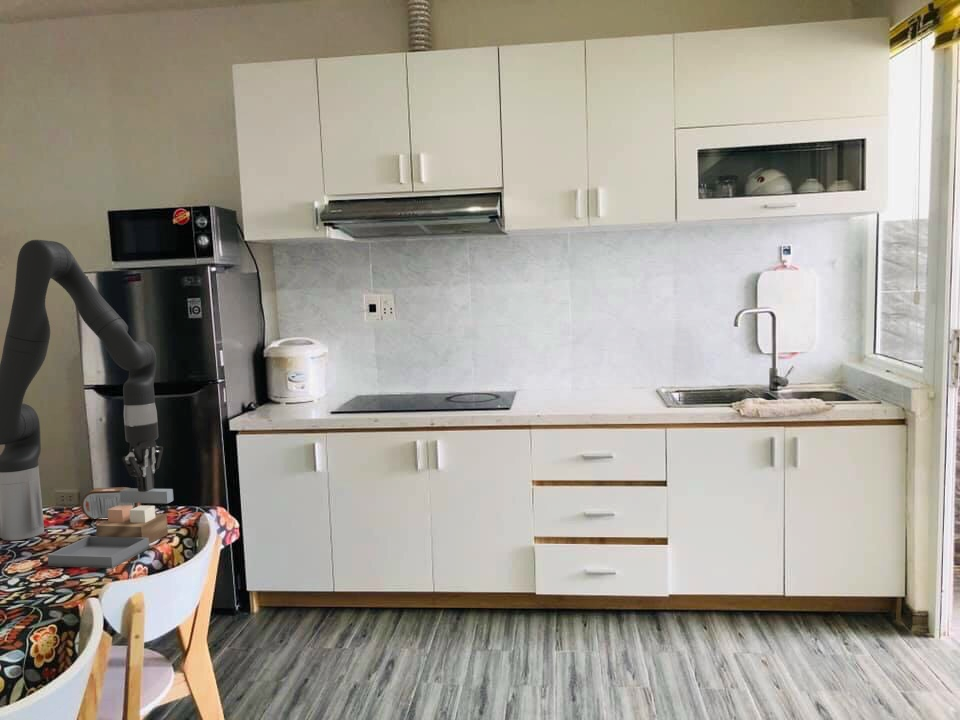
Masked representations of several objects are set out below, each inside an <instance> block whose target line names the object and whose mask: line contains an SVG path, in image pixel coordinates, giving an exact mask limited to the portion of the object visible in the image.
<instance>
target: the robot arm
mask: <svg viewBox="0 0 960 720" xmlns="http://www.w3.org/2000/svg"><path fill="white" fill-rule="evenodd" d="M15 271H16V272H15V273H16V274H15V282H14V283H15V284H14V294H13V299H12V303H11V304H12V305H11V310H10V316H9V320H8V325H7V328H6V333H5V338H4V342H3V346H2V347H3V348H2V352H1V353H2V354H1V359H0V446H2V445H4V448H3V450H2V452H1V454H0V539H2V540H4V541H19V540H25V539H31V538H34V537H37V536H40V535H42V534H44V533H45V526H44V525H45V523H44V513H43V512H44V511H43V501H42V489H41V479H40V468H39V458H40V456H41V450H42V448H41V426H40V419H39V415H38V413H37V411H36V410H35V408H34V407H32V406H31V405H29V404H26V403H23V402H24V398H25V394H26V392H27V390H28V389H29V387H30V384H31V383H32V381H33V379H34V378H35V376H36V375H37V374H38V372H39V371H40V369H41V368H42V366H43V364H44V363H45V360H46V358H47V352H48V349H49V344H50V339H51V326H50V321H49V317H48V313H47V308H46V299H47V297H46V296H47V294H48V293H47V292H48V287H49V285H50V282H51V281H50V280H51V279H52V281H54V282H56V283H57V284H59V286H60V287H62V289H63V290H65V291H66V293H67V294H68V295H69V296H70V298H71V299H72V301H73V302H74V305H75V308H76V309H77V312H78V313H79V316H80V317H81V319H82V320H83V322H84V323H85V325H87V327H89V329H90V331H92V332H93V333H94V334H95V335H96V336H97V338H99V340H101V341H102V343H103V345H104V348H105V349H106V351H107V352H108V353H109V356H110V358H111V359H112V360H113V362H114V363H115V364H116V365H118V367H120V368H121V369H123V370H124V371H126V372H127V371H128V378H127V380H126V381H125V382H124V383H123V387H122V394H123V423H124V424H123V425H124V436H125V441H126V443H129V448H128V449H129V450H128V452H129V453H128V454H127V455H126V456H123V457H121V459H122V462H123V465H124V467H125V469H126V470H127V473H128V474H129V476H130V477H135V478H136V486H137V487H136V488H138V491H139V492H145V491H147V476H146V467H147V466H148V459H150V460H151V461H150V462H151V471H152V487H153V489H155V478H154V477H155V476H154V474H155V472H156V470H159V469H160V465H161V460H162V456H163V451H164V447H163V446H158V445H157V442H156V440H158V438H159V425H158V423H159V422H158V411H157V407H156V398H155V397H156V396H155V387H154V384H155V378H156V373H157V371H156V370H157V364H158V363H157V353H156V350H155V348H154V346H153V345H152V344H151V343H149V342H148V341H144V340H138V341H135V340H134V339H133V338H132V337H131V336H130V335H129V333H128V332H129V325H128V324H127V322H125V320H124V319H123V318H122V317H121V316H120V315H119V313H117V312H116V310H115V309H114V308H113V307H112V306H111V305H110V303H108V302H107V300H106V299H105V298H104V297H103V296H102V295H101V294H100V292H99V291H98V290H97V288H95V286H94V284H93V283H92V282H91V280H90V279H89V277H88V276H87V275H86V273H85V272H84V271H83V269H82V268H81V266H80V264H79V262H78V261H77V260H76V258H75V256H74V255H73V254H72V252H71V250H69V248H68V247H67V246H66V245H64V244H63V243H60V242H58V241H53V240H46V239H45V240H44V239H32V240H28V241H27V242H25V243H24V244H23V245H22V246H21V248H20V250H19V252H18V256H17V261H16V270H15ZM138 463H143V464H138ZM139 468H141V471H140V469H139ZM145 476H146V477H145Z"/></svg>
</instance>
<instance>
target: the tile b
mask: <svg viewBox="0 0 960 720" xmlns="http://www.w3.org/2000/svg"><path fill="white" fill-rule="evenodd" d="M155 507H156V506H155V505H142V504H141V505H140V506H138V507H135V508H133V509H131V510H129V511H130V522H135V523H146V522H148V521H150V520H152V519H154V518H156V517H155V514H156V510H155V509H156V508H155Z"/></svg>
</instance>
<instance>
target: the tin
mask: <svg viewBox="0 0 960 720" xmlns="http://www.w3.org/2000/svg"><path fill="white" fill-rule="evenodd" d="M126 488H129V487H128V486H127V487H126V486H125V487H124V486H121V487H96V488H92V489H90V490H89V491H88V492H87V493H86V494H85V495H84V496H83V497H82V500H81V510H82V512H83V514H84V515H85V517H87V518H89V519H90V518H91V520H93V519H94V518H96V519H97V518H108V513H107V510H108V509H110V508H112V507H115V506H117V505H133V508H135V507H138V506H140V505H142V503H121V500H120V491H121V490H123V489H126Z"/></svg>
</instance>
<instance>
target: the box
mask: <svg viewBox="0 0 960 720" xmlns="http://www.w3.org/2000/svg"><path fill="white" fill-rule="evenodd" d="M149 549H150V544H149V538H140V537H105V536H97V535H88V536H85V537H84V538H82V539H79V540H77V541H75V542H72V543H70V544H68V545H66V546H64V547H61V548H60V549H58V550H55V551H53V552H51V553H49V554H47V565H48V567H64V568H68V567H69V568H92V569H95V568H96V569H114V568H116V567H118V566H120V565H122V564H123V563H125V562H126V561H128V560H130V559H132V558H134V557H136V556H138V555H139V554H142V553H143V552H145V551H147V550H149ZM117 565H118V566H117ZM115 566H116V567H115ZM113 567H114V568H113Z"/></svg>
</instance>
